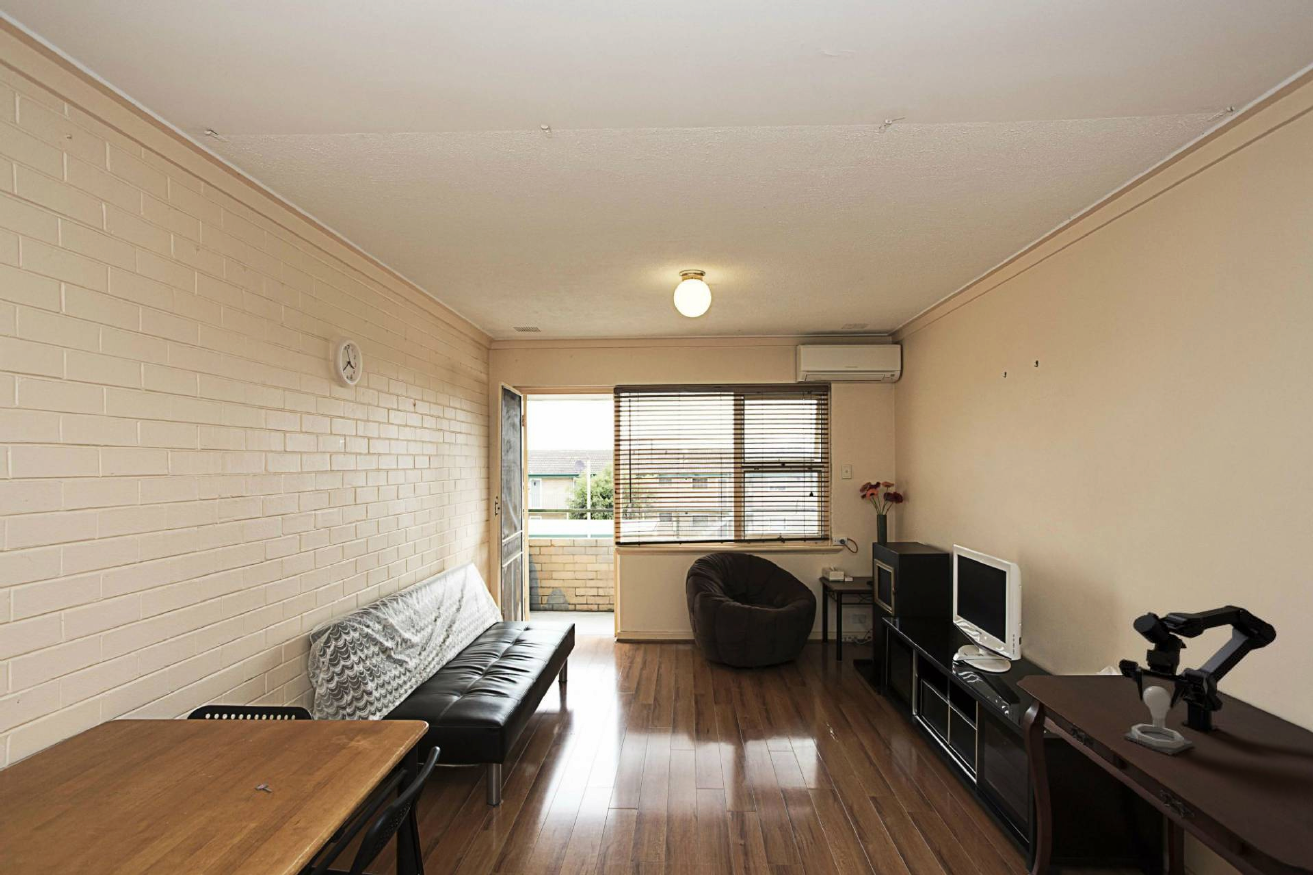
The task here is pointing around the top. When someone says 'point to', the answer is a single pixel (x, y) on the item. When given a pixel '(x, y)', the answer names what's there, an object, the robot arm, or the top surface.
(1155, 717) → the lightbulb
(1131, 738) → the bulb stand
